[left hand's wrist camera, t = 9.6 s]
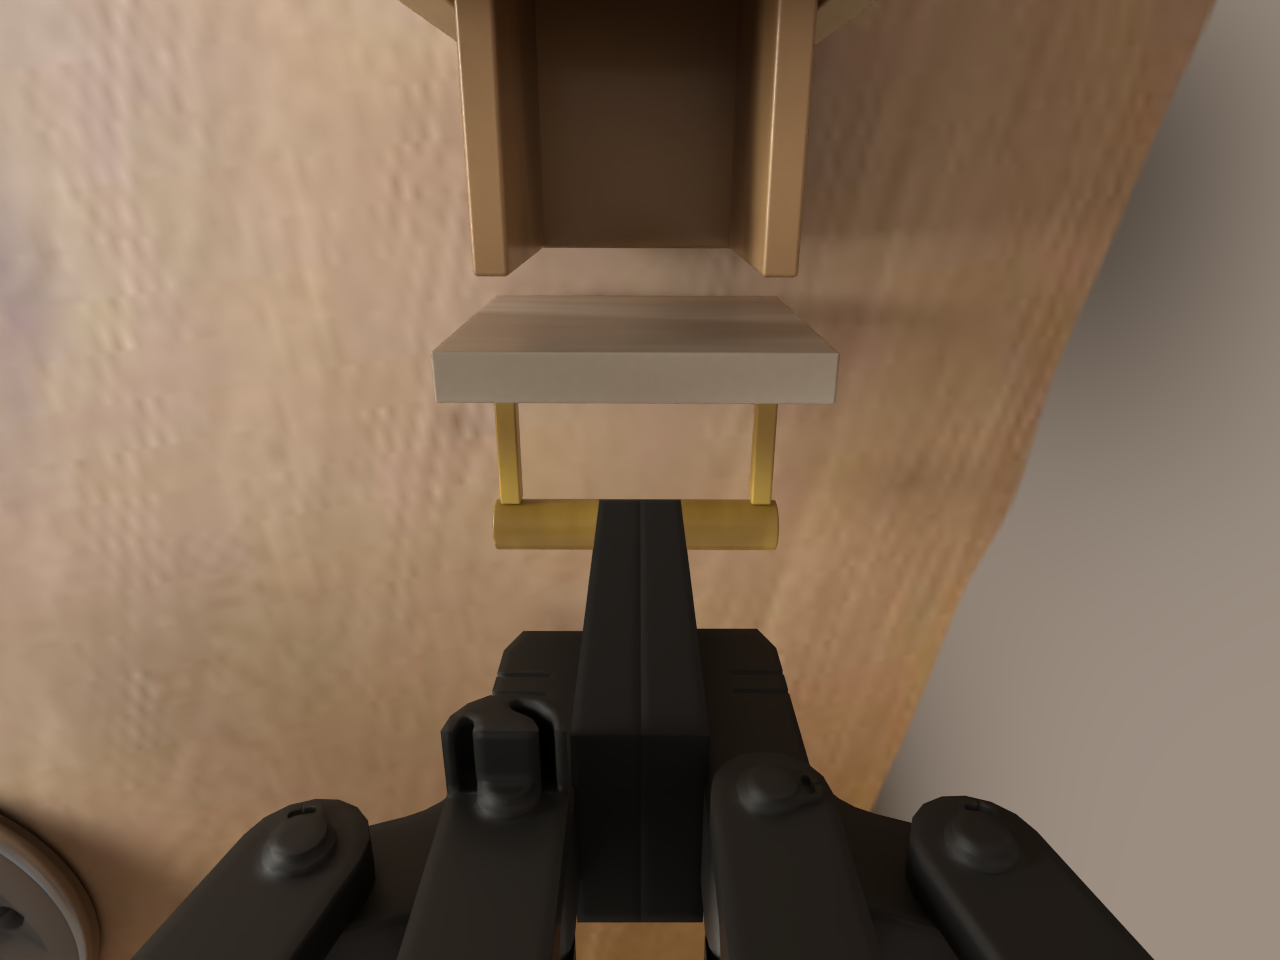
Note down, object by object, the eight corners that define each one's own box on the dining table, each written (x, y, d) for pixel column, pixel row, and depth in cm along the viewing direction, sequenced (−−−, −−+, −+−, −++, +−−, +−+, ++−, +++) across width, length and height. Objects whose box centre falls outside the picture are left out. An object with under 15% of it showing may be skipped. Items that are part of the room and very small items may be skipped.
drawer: (764, 496, 29) (814, 626, 20) (507, 495, 28) (455, 625, 20) (815, -280, 21) (929, -573, 13) (460, -282, 21) (343, -576, 12)
